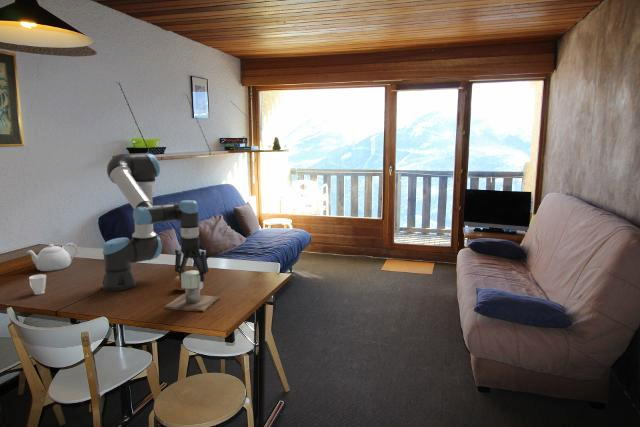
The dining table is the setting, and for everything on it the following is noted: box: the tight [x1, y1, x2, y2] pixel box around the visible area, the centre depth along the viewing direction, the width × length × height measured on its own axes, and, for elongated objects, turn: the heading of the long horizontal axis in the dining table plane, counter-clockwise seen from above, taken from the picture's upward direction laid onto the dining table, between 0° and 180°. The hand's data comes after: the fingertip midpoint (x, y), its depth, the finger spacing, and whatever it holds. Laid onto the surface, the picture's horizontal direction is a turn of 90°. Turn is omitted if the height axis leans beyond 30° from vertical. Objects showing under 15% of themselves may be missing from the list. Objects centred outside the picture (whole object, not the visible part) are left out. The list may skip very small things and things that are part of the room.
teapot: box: [26, 242, 79, 272], centre depth 248 cm, size 19×18×14 cm
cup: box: [28, 273, 47, 295], centre depth 206 cm, size 7×10×8 cm
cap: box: [183, 269, 199, 289], centre depth 190 cm, size 7×7×6 cm
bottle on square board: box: [164, 287, 221, 313], centre depth 191 cm, size 18×16×12 cm
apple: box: [173, 275, 185, 291], centre depth 210 cm, size 8×8×8 cm
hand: (192, 287), depth 191 cm, fingers closed on cap, 7 cm apart
